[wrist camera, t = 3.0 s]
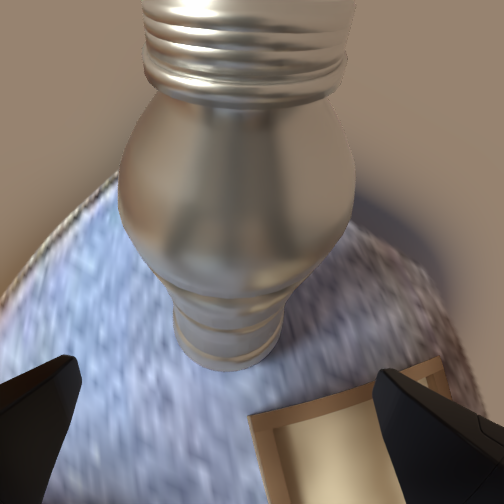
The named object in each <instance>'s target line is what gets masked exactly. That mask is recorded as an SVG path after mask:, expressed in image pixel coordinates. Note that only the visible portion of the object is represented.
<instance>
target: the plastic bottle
mask: <svg viewBox="0 0 504 504" xmlns="http://www.w3.org/2000/svg"><path fill="white" fill-rule="evenodd" d="M141 3H142V10H143V20H144V29H145V38H146V42H145V43H144V45H143V47H142V60H143V66H144V74H145V76H146V78H147V80H148V82H149V83H150V84H151V85H152V86H153V87H154V88H156V89H157V90H158V91H157V92H156V94H155V95H154V97H153V98H152V100H151V101H150V102H149V104H148V105H147V107H146V108H145V110H144V111H143V113H142V114H141V116H140V118H139V119H138V121H137V123H136V125H135V127H134V129H133V131H132V133H131V135H130V138H129V140H128V142H127V144H126V146H125V148H124V152H123V155H122V158H121V162H120V165H119V178H118V210H119V214H120V217H121V221H122V224H123V227H124V229H125V231H126V232H127V234H128V236H129V238H130V239H131V241H132V243H133V245H134V247H135V248H136V250H137V251H138V253H139V254H140V256H141V258H142V259H143V261H144V262H145V263H146V264H147V265H148V267H149V268H150V269H151V270H152V271H153V273H154V274H155V275H156V276H157V278H158V279H159V280H160V281H161V282H162V284H163V285H164V286H165V287H166V289H167V291H168V293H169V295H170V297H171V298H172V300H173V305H174V306H173V328H174V333H175V337H176V339H177V342H178V344H179V346H180V347H181V349H182V350H183V352H184V353H185V354H186V355H187V356H188V357H189V358H190V359H191V360H192V361H193V362H195V363H197V364H199V365H200V366H202V367H204V368H207V369H210V370H213V371H220V372H233V371H239V370H243V369H246V368H249V367H251V366H253V365H255V364H257V363H258V362H260V361H261V360H262V359H264V358H265V357H266V356H267V355H268V354H269V353H270V352H271V350H272V349H273V348H274V346H275V345H276V343H277V341H278V339H279V337H280V334H281V330H282V326H283V319H284V306H285V303H286V301H287V300H288V299H289V297H290V296H291V294H292V293H293V291H294V290H295V289H296V288H297V287H298V286H299V285H300V284H301V283H302V282H303V281H304V280H305V279H306V278H307V277H308V276H309V275H310V274H311V273H312V272H313V271H314V270H315V269H316V268H317V267H318V266H319V265H320V264H321V263H322V261H323V260H324V259H325V258H326V256H327V255H328V254H329V253H330V252H331V250H332V249H333V247H334V246H335V245H336V243H337V242H338V240H339V239H340V238H341V236H342V235H343V233H344V231H345V229H346V227H347V225H348V222H349V220H350V218H351V214H352V208H353V202H354V193H355V181H356V172H355V163H354V158H353V155H352V152H351V149H350V146H349V143H348V140H347V137H346V134H345V132H344V129H343V127H342V124H341V122H340V119H339V118H338V116H337V114H336V112H335V110H334V108H333V106H332V104H331V103H330V101H329V99H328V98H327V96H329V95H330V94H332V93H333V92H335V91H336V89H337V88H338V87H339V86H340V84H341V82H342V79H343V75H344V71H345V67H346V64H347V60H348V58H347V54H346V51H345V47H346V43H347V39H348V35H349V32H350V28H351V24H352V20H353V16H354V12H355V9H356V4H355V0H141Z"/></svg>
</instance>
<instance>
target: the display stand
mask: <svg viewBox="0 0 504 504" xmlns="http://www.w3.org/2000/svg"><path fill="white" fill-rule="evenodd" d="M399 372H400V373H402V374H404V375H406V376H408V377H409V378H411V379H413V380H415V381H417V382H418V383H420V384H422V385H424V386H426V387H428V388H429V389H431V390H433V391H435V392H437V393H439V394H440V395H442V396H444V397H446V398H448V399H450V400H452V397H451V393H450V389H449V385H448V382H447V378H446V375H445V371H444V368H443V364H442V361H441V358H440V355H439V356H437V357H434V358H432V359H429V360H427V361H424V362H422V363H419V364H417V365H414V366H412V367H409V368H407V369H404V370H402V371H399ZM375 381H376V380H375ZM375 381H373V382H370V383H367V384H364V385H361V386H358V387H355V388H352V389H349V390H346V391H343V392H339V393H336V394H333V395H330V396H326V397H323V398H319V399H316V400H312V401H309V402H305V403H301V404H297V405H293V406H289V407H285V408H281V409H277V410H273V411H268V412H264V413H259V414H255V415H250V416H247V419H248V423H249V427H250V431H251V436H252V440H253V444H254V448H255V452H256V456H257V460H258V464H259V468H260V472H261V476H262V480H263V484H264V488H265V492H266V496H267V500H268V503H269V504H406V502H405V499H404V496H403V493H402V490H401V487H400V485H399V482H398V479H397V476H396V473H395V470H394V468H393V465H392V462H391V459H390V456H389V454H388V451H387V448H386V446H385V443H384V440H383V437H382V434H381V430H380V426H379V422H378V418H377V414H376V410H375V406H374V402H373V398H372V390H373V387H374V384H375ZM452 401H453V400H452Z"/></svg>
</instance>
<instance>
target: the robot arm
mask: <svg viewBox="0 0 504 504" xmlns="http://www.w3.org/2000/svg"><path fill="white" fill-rule="evenodd" d="M81 385H82V377H81V373H80V370H79V366H78V362H77V359H76V358H75V357H74V356H70V355H61V356H59V357H57V358H55V359H52V360H50V361H48V362H46V363H44V364H42V365H40V366H38V367H36V368H34V369H31V370H29V371H27V372H25V373H23V374H21V375H19V376H17V377H15V378H12V379H10V380H8V381H6V382H4V383H2V384H0V504H41V503H42V500H43V497H44V493H45V490H46V488H47V485H48V482H49V479H50V476H51V473H52V470H53V468H54V465H55V462H56V459H57V457H58V454H59V452H60V449H61V446H62V444H63V441H64V439H65V436H66V434H67V431H68V429H69V426H70V423H71V420H72V416H73V413H74V409H75V406H76V402H77V399H78V395H79V392H80V389H81ZM372 398H373V402H374V406H375V410H376V414H377V418H378V422H379V426H380V430H381V434H382V437H383V440H384V443H385V446H386V448H387V451H388V454H389V456H390V459H391V462H392V465H393V468H394V470H395V473H396V476H397V479H398V482H399V485H400V487H401V490H402V493H403V496H404V499H405V502H406V504H504V427H502V426H500V425H498V424H496V423H493V422H492V421H490V420H488V419H486V418H484V417H482V416H480V415H477V414H476V413H474V412H472V411H470V410H469V409H467V408H465V407H463V406H461V405H459V404H457V403H455V402H453V401H452V400H450V399H448V398H446V397H444V396H442V395H440V394H439V393H437V392H435V391H433V390H431V389H429V388H428V387H426V386H424V385H422V384H420V383H418V382H417V381H415V380H413V379H411V378H409V377H408V376H406V375H404V374H402V373H400V372H399V371H397V370H395V369H393V368H388V369H381V370H380V371H379V372H378V375H377V378H376V381H375V384H374V387H373V390H372Z"/></svg>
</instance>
